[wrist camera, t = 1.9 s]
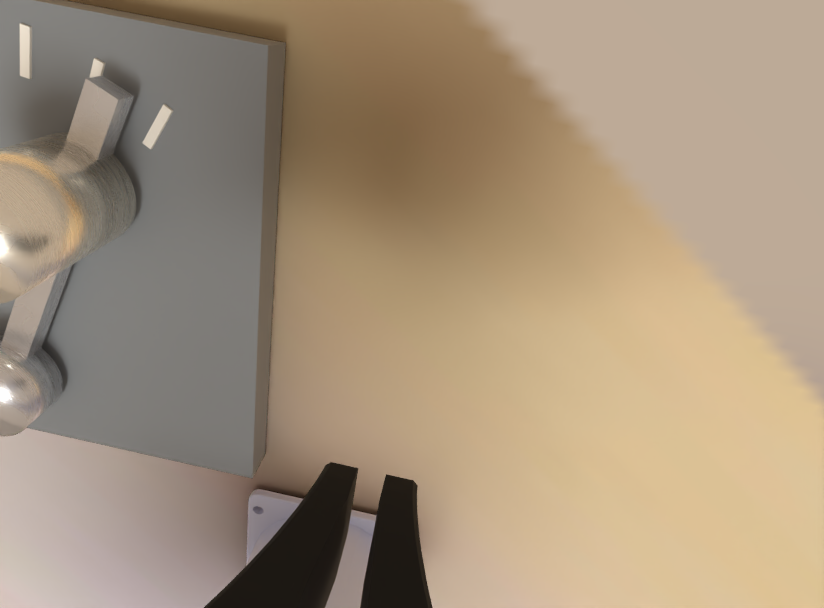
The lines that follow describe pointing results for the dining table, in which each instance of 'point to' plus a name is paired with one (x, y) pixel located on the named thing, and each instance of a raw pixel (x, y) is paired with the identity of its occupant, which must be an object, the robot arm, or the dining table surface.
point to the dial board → (161, 229)
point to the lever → (55, 236)
